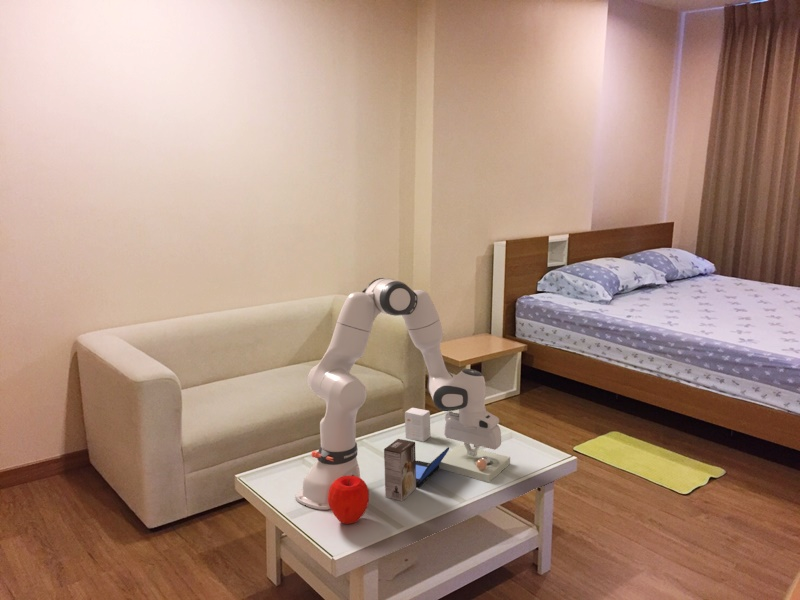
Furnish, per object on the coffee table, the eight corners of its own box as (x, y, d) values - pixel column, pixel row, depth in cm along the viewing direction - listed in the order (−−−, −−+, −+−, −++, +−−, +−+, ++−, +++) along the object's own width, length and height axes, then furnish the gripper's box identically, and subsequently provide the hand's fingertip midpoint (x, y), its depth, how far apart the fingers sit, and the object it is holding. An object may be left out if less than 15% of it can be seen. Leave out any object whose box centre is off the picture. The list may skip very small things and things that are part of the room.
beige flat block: (488, 482, 206) (488, 475, 206) (435, 467, 218) (435, 460, 217) (510, 463, 219) (510, 457, 219) (459, 450, 230) (459, 444, 230)
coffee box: (399, 484, 206) (398, 437, 203) (416, 488, 203) (416, 441, 200) (384, 497, 198) (383, 448, 195) (402, 501, 195) (401, 452, 192)
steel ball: (488, 462, 212) (480, 455, 214) (485, 470, 214) (476, 463, 215) (493, 458, 215) (485, 452, 217) (490, 466, 217) (481, 460, 218)
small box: (430, 437, 243) (430, 410, 241) (423, 442, 238) (423, 415, 236) (412, 432, 247) (412, 406, 245) (405, 437, 242) (404, 411, 240)
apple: (341, 537, 177) (340, 492, 174) (321, 519, 186) (319, 476, 183) (377, 523, 183) (376, 480, 181) (355, 506, 193) (354, 465, 190)
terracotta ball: (483, 472, 208) (483, 462, 207) (474, 470, 210) (474, 460, 209) (488, 468, 211) (488, 458, 210) (479, 466, 213) (479, 456, 212)
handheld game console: (415, 463, 221) (415, 438, 219) (450, 471, 215) (450, 445, 213) (393, 482, 208) (392, 456, 206) (429, 492, 201) (429, 464, 200)
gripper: (440, 413, 219) (441, 451, 221) (495, 425, 207) (494, 465, 210) (450, 407, 224) (450, 444, 226) (503, 419, 212) (503, 458, 215)
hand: (472, 454), depth 218 cm, fingers closed
